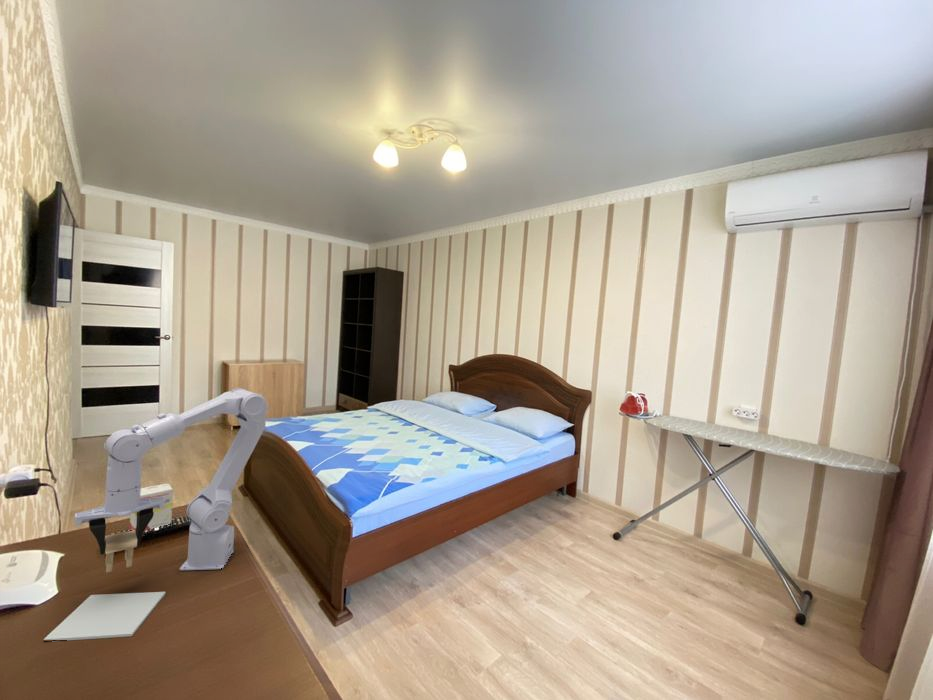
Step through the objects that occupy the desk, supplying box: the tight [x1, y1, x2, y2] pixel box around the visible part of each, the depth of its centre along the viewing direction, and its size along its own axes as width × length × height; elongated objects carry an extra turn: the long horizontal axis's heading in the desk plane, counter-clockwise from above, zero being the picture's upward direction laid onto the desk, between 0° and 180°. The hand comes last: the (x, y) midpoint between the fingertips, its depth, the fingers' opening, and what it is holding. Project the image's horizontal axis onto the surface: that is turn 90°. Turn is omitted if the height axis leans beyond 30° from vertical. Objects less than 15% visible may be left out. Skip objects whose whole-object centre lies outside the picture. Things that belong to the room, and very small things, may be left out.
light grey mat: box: [43, 591, 167, 641], centre depth 79 cm, size 14×12×1 cm
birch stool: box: [104, 530, 138, 574], centre depth 85 cm, size 5×5×6 cm
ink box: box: [129, 483, 174, 532], centre depth 110 cm, size 9×5×12 cm, turn 141°
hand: (120, 547), depth 84 cm, fingers closed on birch stool, 5 cm apart
